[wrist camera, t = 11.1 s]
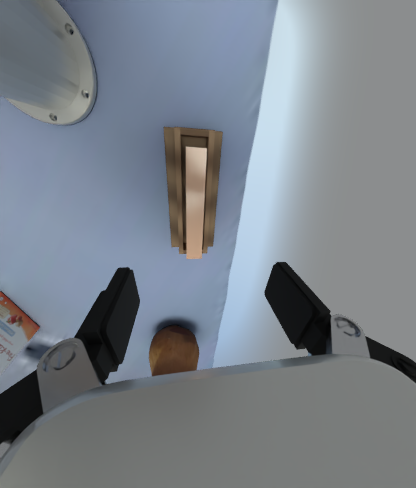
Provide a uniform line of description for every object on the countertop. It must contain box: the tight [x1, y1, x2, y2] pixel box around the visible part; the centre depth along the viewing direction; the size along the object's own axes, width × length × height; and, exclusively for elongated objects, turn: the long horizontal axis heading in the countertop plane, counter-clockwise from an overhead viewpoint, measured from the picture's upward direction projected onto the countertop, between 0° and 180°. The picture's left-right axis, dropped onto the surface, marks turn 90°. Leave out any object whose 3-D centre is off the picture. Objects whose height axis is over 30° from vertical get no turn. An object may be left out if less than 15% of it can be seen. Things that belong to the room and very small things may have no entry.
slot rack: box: [164, 127, 223, 254], centre depth 29 cm, size 21×9×4 cm, turn 177°
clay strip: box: [186, 147, 207, 259], centre depth 26 cm, size 16×2×8 cm, turn 176°
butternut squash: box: [149, 325, 199, 376], centre depth 40 cm, size 14×13×25 cm
